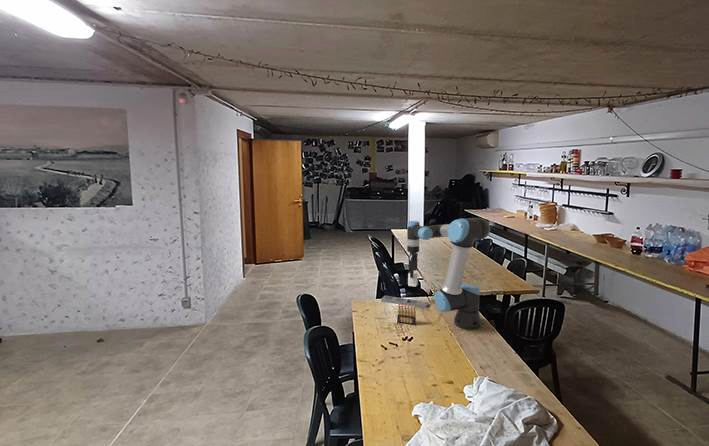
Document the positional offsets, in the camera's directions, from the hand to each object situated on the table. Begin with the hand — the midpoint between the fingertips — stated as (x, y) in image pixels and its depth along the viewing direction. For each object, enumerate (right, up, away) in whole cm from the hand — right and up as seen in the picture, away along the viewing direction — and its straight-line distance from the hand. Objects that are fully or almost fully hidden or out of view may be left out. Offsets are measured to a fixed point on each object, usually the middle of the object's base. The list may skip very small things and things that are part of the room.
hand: (412, 281), depth 251 cm
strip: (+1, -16, +3) cm, 17 cm away
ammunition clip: (-7, -21, -24) cm, 33 cm away
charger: (0, -3, 0) cm, 2 cm away
